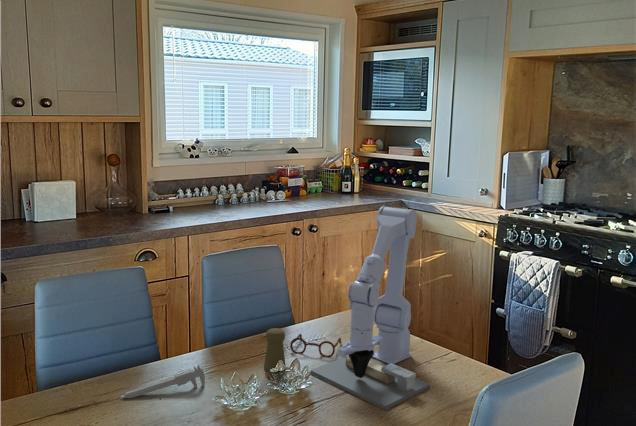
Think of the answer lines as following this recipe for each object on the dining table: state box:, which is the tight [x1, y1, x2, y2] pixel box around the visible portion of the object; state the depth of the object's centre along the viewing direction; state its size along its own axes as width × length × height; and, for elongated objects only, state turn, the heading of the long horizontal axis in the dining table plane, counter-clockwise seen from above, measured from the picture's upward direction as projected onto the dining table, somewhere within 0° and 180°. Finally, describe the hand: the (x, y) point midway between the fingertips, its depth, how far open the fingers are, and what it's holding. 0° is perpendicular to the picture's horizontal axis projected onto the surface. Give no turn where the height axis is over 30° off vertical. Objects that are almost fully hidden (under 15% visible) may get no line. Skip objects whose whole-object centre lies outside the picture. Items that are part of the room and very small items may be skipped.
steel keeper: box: [381, 363, 417, 393], centre depth 156 cm, size 8×4×4 cm, turn 44°
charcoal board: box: [310, 357, 431, 411], centre depth 161 cm, size 18×26×1 cm
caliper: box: [119, 364, 206, 400], centre depth 151 cm, size 20×1×6 cm, turn 113°
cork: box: [263, 327, 286, 373], centre depth 166 cm, size 6×6×11 cm
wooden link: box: [346, 355, 395, 384], centre depth 163 cm, size 15×4×4 cm, turn 44°
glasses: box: [290, 333, 342, 358], centre depth 182 cm, size 13×13×5 cm
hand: (359, 376), depth 159 cm, fingers closed
